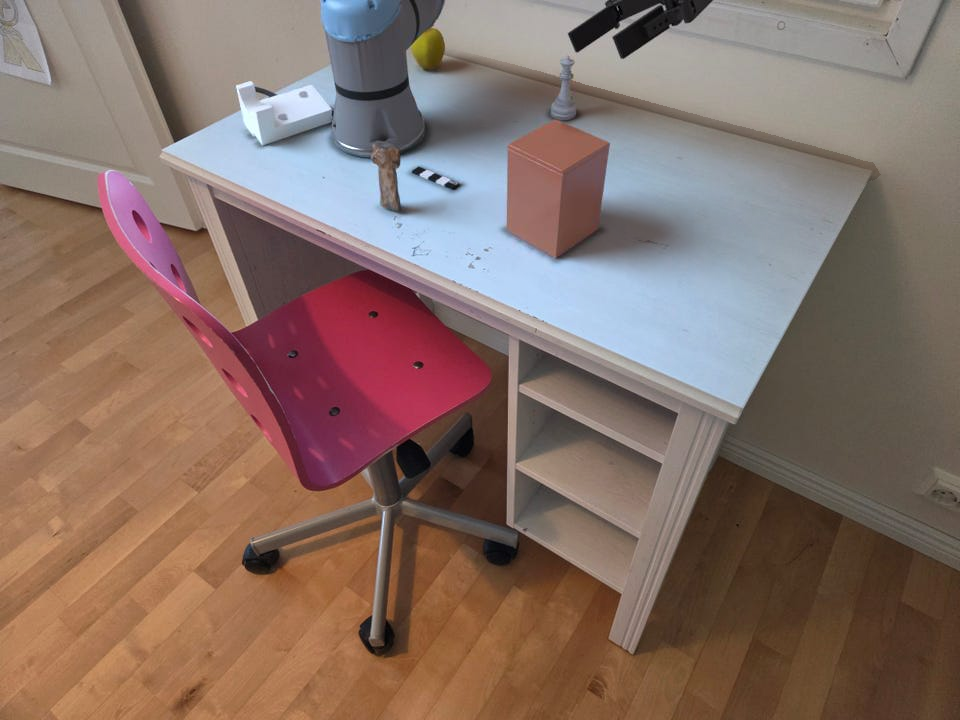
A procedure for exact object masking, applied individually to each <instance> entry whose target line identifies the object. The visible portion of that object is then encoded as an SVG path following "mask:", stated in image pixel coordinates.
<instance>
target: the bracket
mask: <svg viewBox="0 0 960 720" xmlns="http://www.w3.org/2000/svg"><path fill="white" fill-rule="evenodd" d="M255 87H256V86H255V84H254V83H253V81H252V80H250V81H246V82H243V83H240V84H236V85H235V88H236V91H237V98H238V101H239V106H240V110H241V111H240V112H241V115H242V121H243V124H244V126H245V127H246V128H247V130H248V131H249V132H250V134H251V135H252V137H255V138H256V139H257V140H258V142H259V143H260V144H261V146H266V145H269V144H272V143H275V142H277V141H280V140H284V139H286V138H290V137H292V136H295V135H298V134H300V133H304V132H307V131H310V130H312V129H315V128H318V127H321V126H325V125H327V124H330V123H331V124H332V122H333V116H332V111H333V109H332V108H331V106H330V105H329V104H328V103H327V101H326V100H325V99H324V98H323V96H322V95H321V94H320V93H319V92H318V90H317V89H316V88H315V87H314V85H313V84H308V85H306V86H303V87H299V88H296V89H292V90H289V91H286V92H282V93H280V94H279V93H278V94H277V95H276V96H273V97H266V98H263V99H259V96H258V93H257V92H256V91H255Z"/></svg>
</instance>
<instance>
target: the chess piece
mask: <svg viewBox="0 0 960 720" xmlns="http://www.w3.org/2000/svg"><path fill="white" fill-rule="evenodd" d="M559 63H560V65H561V67H562V70H561V72H560V73H559V74H558V78H559V79H560V80H561V86H560V87H561V88H560V90H559V94H558V95H556V98H555V100H554V101H553V102H552V103H551V106H550V116H551V117H552V118H553V119H556V120H558V121H569V120H572V119H574V118H575V117H576V115H577V104H576V102H575V101H574V100H573V99H574V98H573V96H572V95H571V87H570V82H571V80H573V79H574V74H573V73H572V68H573V66H574V65H575V60H574V59H572V58H571V57H570V56H569V55H568V54H567V55H566V56H565V57H564V58H561V59H560V61H559Z"/></svg>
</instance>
